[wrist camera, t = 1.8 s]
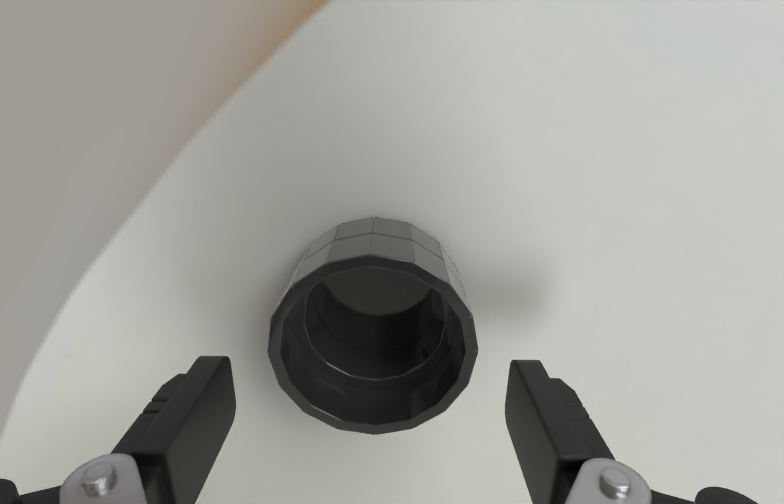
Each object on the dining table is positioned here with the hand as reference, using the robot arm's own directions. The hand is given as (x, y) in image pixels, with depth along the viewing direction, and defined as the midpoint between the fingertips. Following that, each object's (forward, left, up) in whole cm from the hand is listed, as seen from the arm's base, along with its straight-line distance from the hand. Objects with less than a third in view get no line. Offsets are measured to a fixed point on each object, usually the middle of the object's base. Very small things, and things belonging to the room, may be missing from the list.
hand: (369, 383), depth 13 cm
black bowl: (0, 0, -5) cm, 5 cm away
